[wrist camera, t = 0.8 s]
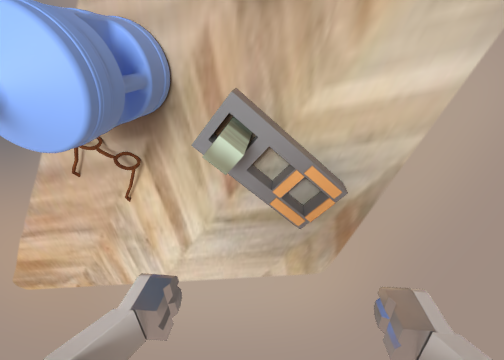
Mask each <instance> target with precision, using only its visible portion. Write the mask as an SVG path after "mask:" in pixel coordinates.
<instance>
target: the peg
mask: <svg viewBox="0 0 504 360" xmlns="http://www.w3.org/2000/svg"><path fill="white" fill-rule="evenodd" d="M251 135H252V131H250V130H249V129H248V128H247V127H246V126H244V125H243V124H242V123H241V122H240V121H239V120H237V119H236V118H235V117H233V118H232V119H231V120H230V122H229V123H228V124H227V125H226V127H225V128H224V129H223V130H222V132H221V133H220V134H219V136H218V137H217V138H216V140H215V141H214V142H213V144H212V145H211V146H210V148H209V149H208V150H207V151H206V153H205V154H204V155H203V158H204V159H206V160H207V161H208V162H209V163H211V164H212V165H213V166H215V167H216V168H217V169H219V170H220V171H221V172H222V173H224V174H225V175H226V174H227V173H228V172H229V171H230V170H231V169H232V168H233V167H234V166H235V165H236V163H237V162H238V161H239V160H240V159H241V158H242V157H243V156H244V154H245V151H246V148H247V146H248V143H249V140H250V138H251Z"/></svg>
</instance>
